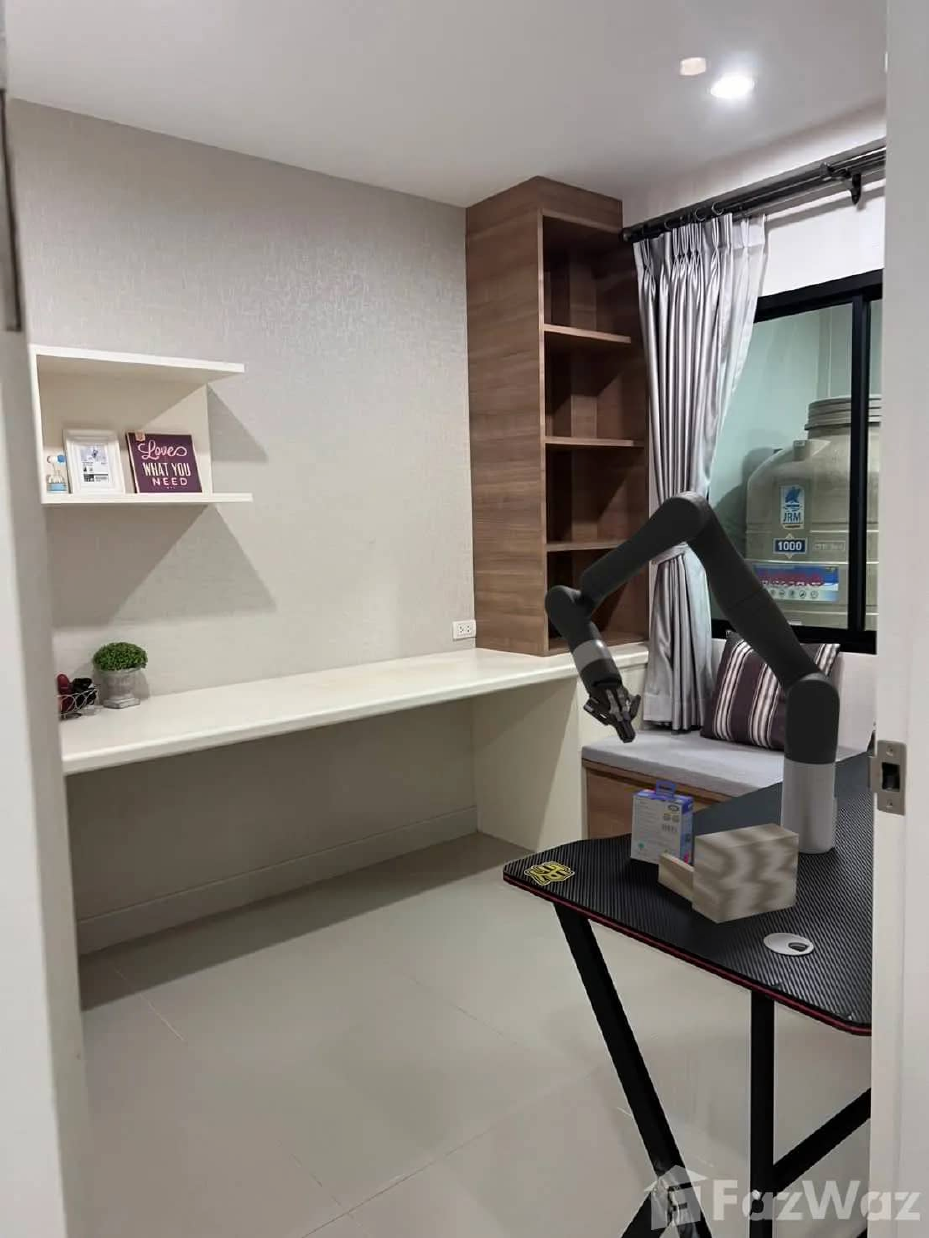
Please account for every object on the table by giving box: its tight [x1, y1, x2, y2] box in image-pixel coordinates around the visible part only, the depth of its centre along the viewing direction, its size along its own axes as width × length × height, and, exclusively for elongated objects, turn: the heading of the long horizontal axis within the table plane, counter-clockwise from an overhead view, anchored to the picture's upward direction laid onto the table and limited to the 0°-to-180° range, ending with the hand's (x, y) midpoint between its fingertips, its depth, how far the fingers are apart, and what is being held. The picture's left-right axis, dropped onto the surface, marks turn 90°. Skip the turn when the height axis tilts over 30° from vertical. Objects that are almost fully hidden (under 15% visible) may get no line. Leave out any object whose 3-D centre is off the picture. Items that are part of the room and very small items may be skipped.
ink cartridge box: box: [630, 779, 694, 866], centre depth 169 cm, size 10×6×14 cm, turn 54°
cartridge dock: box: [658, 822, 799, 924], centre depth 154 cm, size 16×17×12 cm
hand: (629, 740), depth 177 cm, fingers closed
